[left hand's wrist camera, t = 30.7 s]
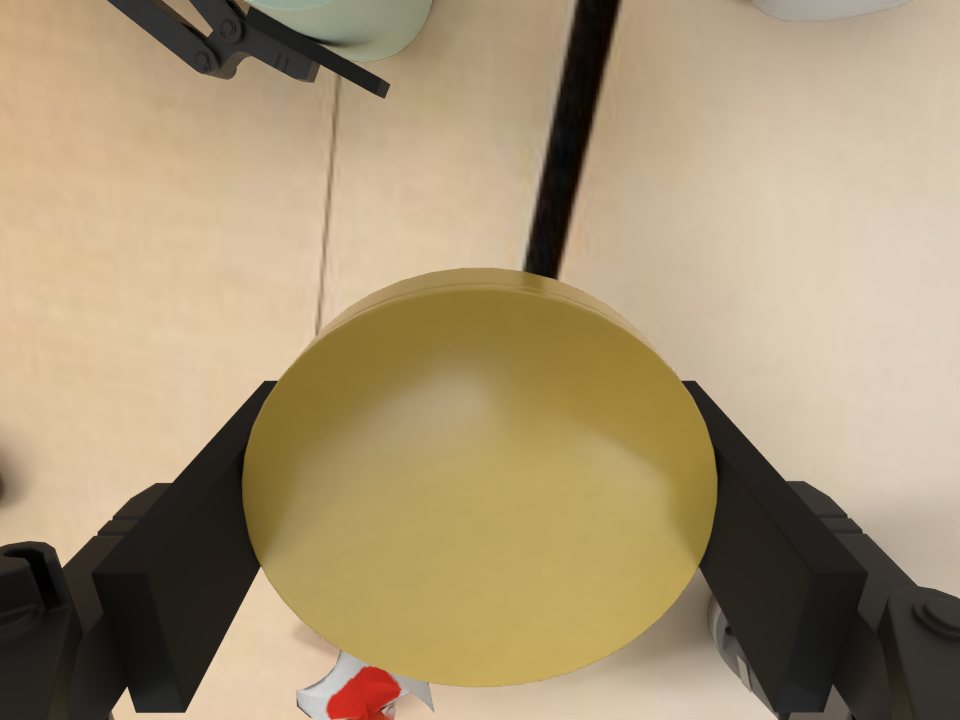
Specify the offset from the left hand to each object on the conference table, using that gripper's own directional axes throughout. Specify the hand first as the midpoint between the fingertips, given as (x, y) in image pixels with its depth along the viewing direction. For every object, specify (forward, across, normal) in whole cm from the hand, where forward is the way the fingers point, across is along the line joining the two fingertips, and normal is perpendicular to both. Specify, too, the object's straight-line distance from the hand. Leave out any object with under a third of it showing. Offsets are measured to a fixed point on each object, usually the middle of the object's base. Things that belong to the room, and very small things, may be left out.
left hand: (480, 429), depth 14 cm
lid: (-3, 0, 0) cm, 3 cm away
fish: (+25, +10, +38) cm, 46 cm away
